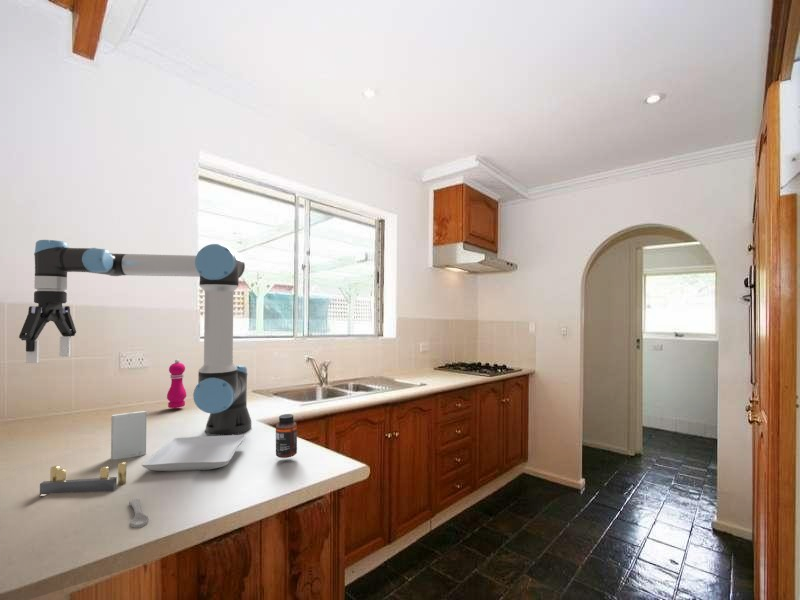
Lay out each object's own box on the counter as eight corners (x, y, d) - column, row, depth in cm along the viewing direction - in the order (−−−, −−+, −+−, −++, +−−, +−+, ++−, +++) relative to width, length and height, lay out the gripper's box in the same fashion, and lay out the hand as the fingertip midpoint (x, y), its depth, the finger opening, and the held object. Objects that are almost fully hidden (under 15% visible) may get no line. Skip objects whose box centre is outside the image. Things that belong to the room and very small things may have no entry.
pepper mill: (180, 408, 161) (180, 360, 161) (162, 408, 161) (163, 360, 161) (189, 404, 168) (190, 358, 168) (173, 403, 168) (173, 358, 169)
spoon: (131, 533, 74) (131, 523, 74) (125, 508, 83) (125, 498, 83) (149, 528, 76) (150, 518, 76) (142, 504, 85) (142, 494, 85)
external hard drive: (146, 454, 111) (146, 411, 112) (110, 461, 107) (111, 416, 107) (146, 453, 113) (146, 410, 113) (111, 459, 108) (111, 414, 108)
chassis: (127, 482, 94) (127, 461, 94) (115, 492, 89) (116, 470, 89) (53, 486, 92) (53, 465, 92) (37, 497, 87) (37, 474, 87)
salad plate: (246, 444, 121) (246, 433, 121) (228, 473, 100) (228, 459, 100) (173, 448, 118) (173, 436, 118) (139, 478, 97) (139, 465, 97)
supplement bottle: (295, 449, 116) (296, 412, 116) (298, 457, 110) (298, 417, 110) (274, 452, 114) (275, 413, 114) (276, 460, 108) (276, 419, 108)
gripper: (65, 291, 131) (64, 354, 131) (2, 288, 106) (0, 365, 106) (89, 292, 132) (88, 354, 132) (33, 289, 107) (31, 365, 107)
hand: (49, 359), depth 119 cm, fingers open, 13 cm apart
